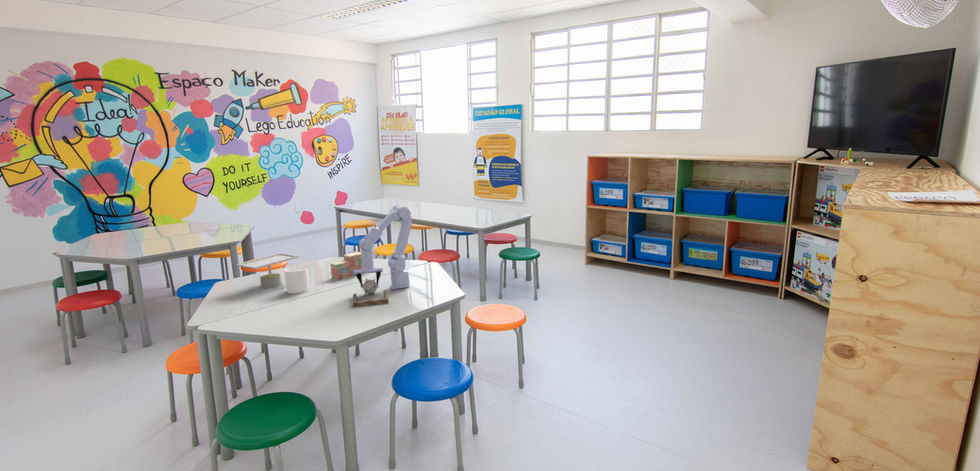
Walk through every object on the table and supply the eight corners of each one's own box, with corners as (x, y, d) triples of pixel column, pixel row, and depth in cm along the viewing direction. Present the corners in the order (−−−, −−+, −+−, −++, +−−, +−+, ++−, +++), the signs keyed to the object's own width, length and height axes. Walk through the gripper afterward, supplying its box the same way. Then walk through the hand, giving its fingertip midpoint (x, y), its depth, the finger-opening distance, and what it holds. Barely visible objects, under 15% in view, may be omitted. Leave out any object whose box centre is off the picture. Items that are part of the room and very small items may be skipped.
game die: (374, 299, 262) (385, 283, 262) (367, 299, 254) (378, 283, 254) (362, 289, 265) (372, 274, 265) (354, 289, 256) (364, 273, 256)
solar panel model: (258, 294, 266) (255, 267, 263) (239, 290, 275) (236, 264, 272) (302, 280, 289) (299, 255, 286) (283, 277, 298) (280, 252, 295)
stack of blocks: (337, 280, 287) (335, 259, 285) (331, 278, 292) (329, 258, 289) (368, 271, 303) (367, 252, 300) (363, 270, 307) (361, 250, 304)
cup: (295, 286, 278) (292, 265, 276) (314, 287, 276) (311, 266, 273) (282, 293, 267) (279, 271, 265) (302, 294, 265) (299, 272, 262)
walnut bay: (387, 293, 259) (387, 290, 259) (388, 302, 246) (388, 299, 245) (353, 297, 255) (353, 293, 255) (353, 306, 242) (352, 303, 241)
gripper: (381, 258, 264) (383, 282, 267) (353, 260, 261) (355, 285, 264) (381, 261, 258) (384, 286, 260) (353, 264, 254) (355, 289, 257)
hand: (369, 286), depth 262 cm, fingers open, 7 cm apart
